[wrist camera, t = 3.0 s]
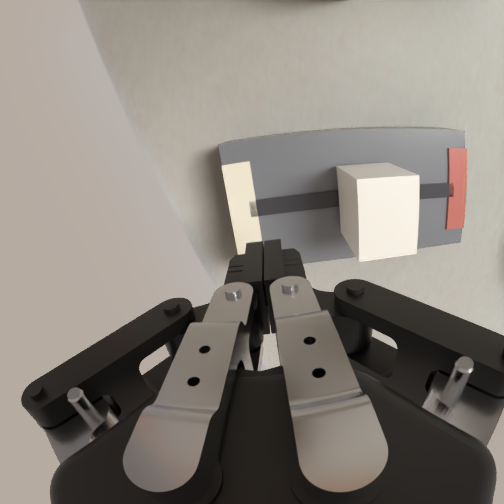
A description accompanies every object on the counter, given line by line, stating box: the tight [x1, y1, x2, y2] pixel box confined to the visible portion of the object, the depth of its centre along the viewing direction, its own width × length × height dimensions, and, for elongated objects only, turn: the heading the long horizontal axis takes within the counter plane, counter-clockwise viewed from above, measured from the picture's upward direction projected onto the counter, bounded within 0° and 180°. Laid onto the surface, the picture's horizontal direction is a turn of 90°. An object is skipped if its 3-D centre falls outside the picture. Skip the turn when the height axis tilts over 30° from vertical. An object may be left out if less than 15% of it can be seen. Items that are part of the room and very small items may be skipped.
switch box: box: [218, 127, 467, 264], centre depth 22 cm, size 20×10×4 cm, turn 99°
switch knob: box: [336, 163, 420, 262], centre depth 18 cm, size 4×5×5 cm
